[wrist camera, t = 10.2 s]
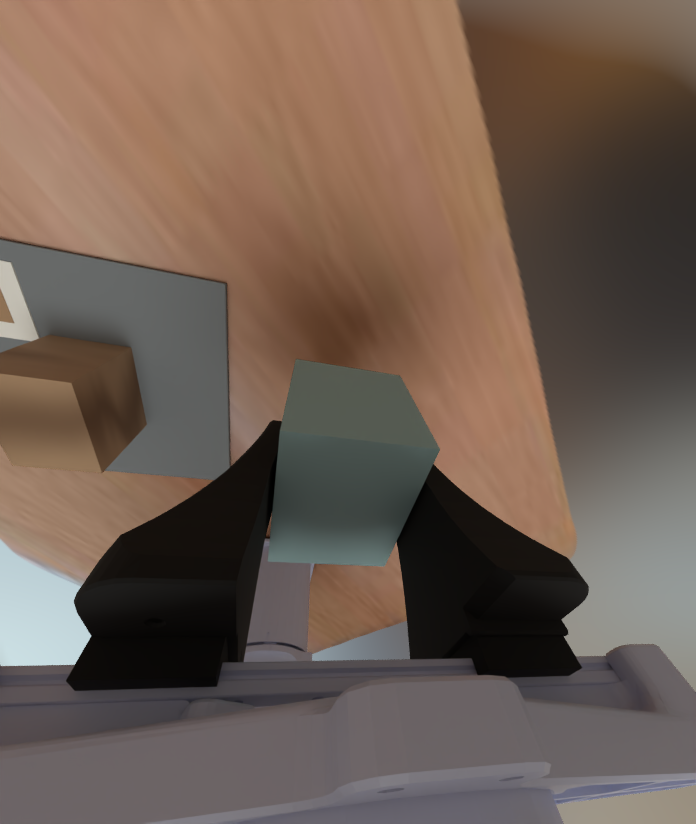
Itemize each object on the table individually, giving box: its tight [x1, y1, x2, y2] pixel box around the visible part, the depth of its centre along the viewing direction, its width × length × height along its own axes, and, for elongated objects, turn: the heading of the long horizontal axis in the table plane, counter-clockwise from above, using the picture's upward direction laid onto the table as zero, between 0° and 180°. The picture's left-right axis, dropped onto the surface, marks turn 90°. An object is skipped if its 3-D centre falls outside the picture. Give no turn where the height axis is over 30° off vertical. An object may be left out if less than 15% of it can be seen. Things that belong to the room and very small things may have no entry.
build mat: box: [0, 239, 230, 480], centre depth 19 cm, size 16×16×1 cm
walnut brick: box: [0, 335, 147, 473], centre depth 17 cm, size 6×4×5 cm
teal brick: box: [268, 359, 440, 566], centre depth 11 cm, size 6×4×5 cm
